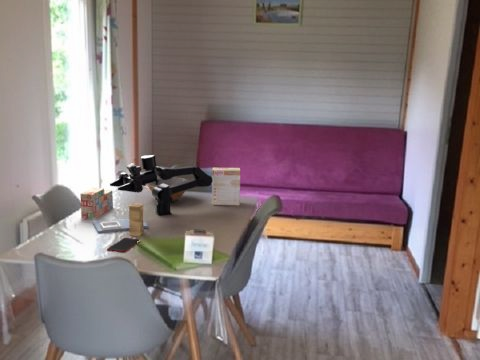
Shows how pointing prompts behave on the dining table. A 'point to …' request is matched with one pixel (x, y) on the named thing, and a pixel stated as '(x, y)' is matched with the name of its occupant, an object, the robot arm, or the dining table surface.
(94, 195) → the stack of blocks
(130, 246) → the cell phone
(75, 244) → the dining table surface
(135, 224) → the pillar block
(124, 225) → the board
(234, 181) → the coffeecake box
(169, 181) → the bowl
